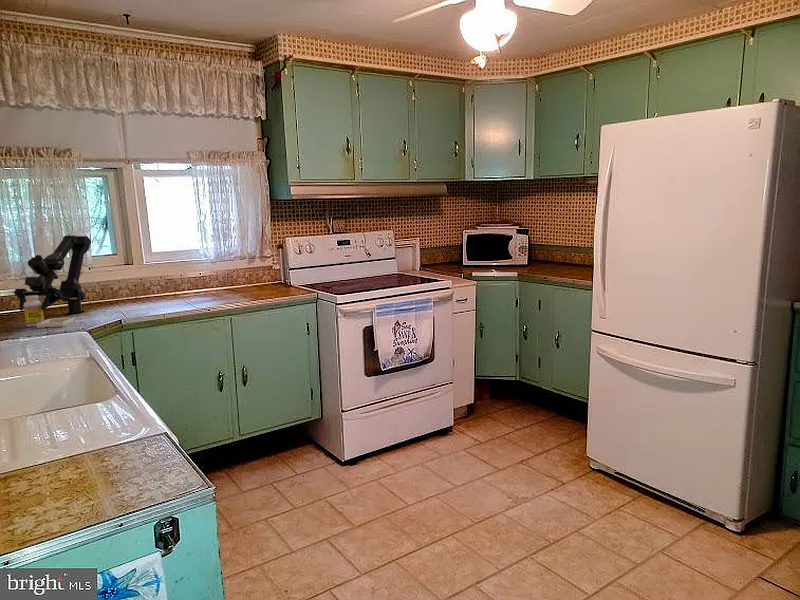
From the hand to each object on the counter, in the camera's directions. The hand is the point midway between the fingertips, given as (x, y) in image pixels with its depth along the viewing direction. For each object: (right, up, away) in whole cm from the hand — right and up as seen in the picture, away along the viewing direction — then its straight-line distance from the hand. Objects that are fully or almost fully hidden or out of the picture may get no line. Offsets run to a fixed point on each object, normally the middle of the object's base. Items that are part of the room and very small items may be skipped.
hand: (31, 309), depth 243 cm
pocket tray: (+10, -6, +2) cm, 12 cm away
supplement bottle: (0, -7, +2) cm, 7 cm away
